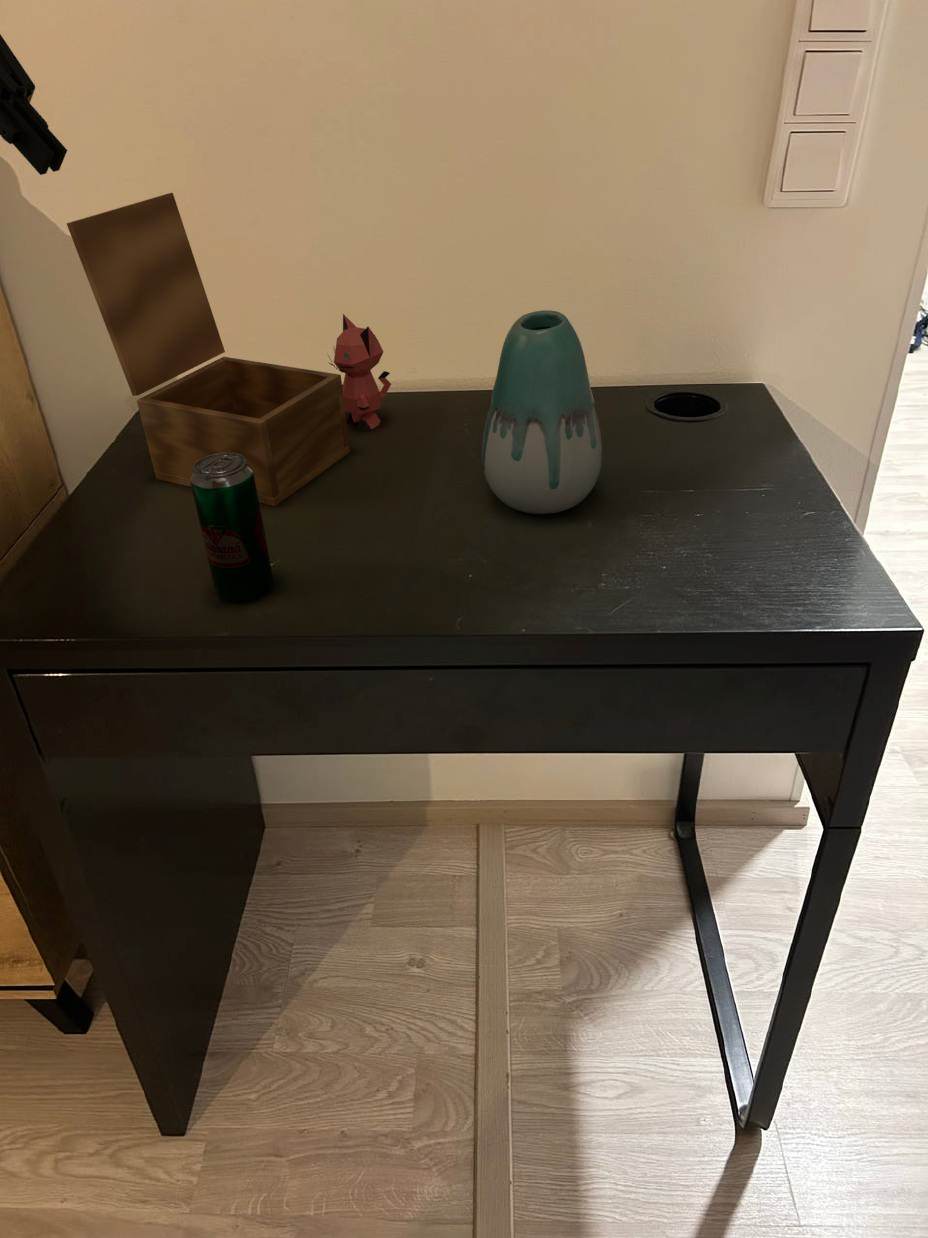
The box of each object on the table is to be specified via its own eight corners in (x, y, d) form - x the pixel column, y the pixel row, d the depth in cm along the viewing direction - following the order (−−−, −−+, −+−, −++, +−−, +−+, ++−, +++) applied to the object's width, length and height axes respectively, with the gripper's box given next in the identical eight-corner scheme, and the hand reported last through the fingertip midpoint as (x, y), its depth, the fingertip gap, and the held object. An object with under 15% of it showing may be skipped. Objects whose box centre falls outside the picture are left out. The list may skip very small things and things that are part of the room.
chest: (350, 452, 106) (341, 374, 101) (275, 506, 96) (260, 423, 91) (237, 430, 112) (223, 356, 107) (156, 479, 102) (136, 400, 97)
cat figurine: (326, 419, 113) (313, 318, 107) (377, 405, 116) (367, 305, 110) (354, 438, 109) (342, 334, 102) (406, 423, 111) (397, 320, 105)
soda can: (204, 599, 82) (174, 472, 75) (236, 569, 86) (211, 446, 79) (254, 609, 80) (228, 481, 74) (285, 579, 84) (263, 454, 77)
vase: (512, 537, 88) (509, 347, 78) (465, 486, 97) (457, 310, 87) (622, 511, 92) (633, 325, 82) (567, 464, 101) (571, 291, 91)
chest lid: (172, 192, 98) (167, 193, 99) (71, 222, 88) (65, 223, 89) (225, 351, 106) (220, 352, 107) (137, 395, 97) (132, 395, 97)
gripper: (-67, -5, 99) (93, 176, 102) (-196, 3, 89) (-14, 204, 92) (-51, -71, 94) (118, 122, 97) (-186, -70, 84) (7, 145, 87)
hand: (53, 162), depth 94 cm, fingers closed
